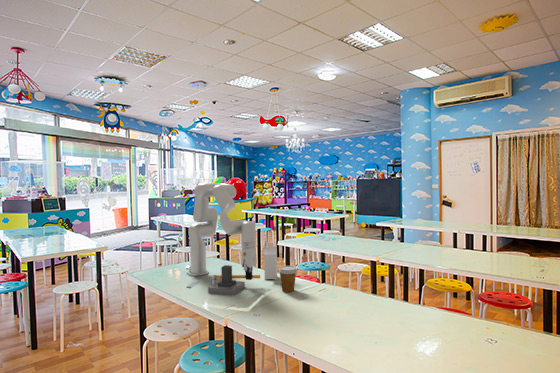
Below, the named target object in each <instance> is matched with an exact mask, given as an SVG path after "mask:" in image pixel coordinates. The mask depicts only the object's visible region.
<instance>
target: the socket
mask: <svg viewBox="0 0 560 373" xmlns="http://www.w3.org/2000/svg"><path fill="white" fill-rule="evenodd" d="M211 279H212V278H211ZM220 281H222V279H220V280H218V281H217V279H212V283H211V285H210V286H208V289H207V293H208V294H213V295H214V294H215V295H223V296H224V295H226V296H235V295H236V294H237V293H238V292H240V291H241V290H243V289H244V288H245V287H246V285H245V284H246V283H245V281H240V280H236V283H235V284H234V285H233V286H231V287H223V286H218V283H219V282H220Z"/></svg>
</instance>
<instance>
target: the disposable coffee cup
mask: <svg viewBox="0 0 560 373" xmlns="http://www.w3.org/2000/svg"><path fill="white" fill-rule="evenodd" d="M297 271H298V269H297V267H296V266H294V265H283V266H280V267H279V269H278V272H279V276H280V284H281V291H282V292H284V293H293V292H295V284H296V276H297V275H296V274H297Z"/></svg>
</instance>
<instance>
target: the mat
mask: <svg viewBox="0 0 560 373" xmlns="http://www.w3.org/2000/svg"><path fill="white" fill-rule="evenodd" d="M204 281H206V279H203V278H202V279H201V278H200V279H198V280H195V281H194V282H192V283H191V284H188V285H186V288H187V289H192V288H194V287H196V286H197V285H199V284H201V283H203V282H204Z"/></svg>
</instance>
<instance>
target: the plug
mask: <svg viewBox="0 0 560 373" xmlns="http://www.w3.org/2000/svg"><path fill="white" fill-rule="evenodd" d="M220 268H221V275H222V278H221V280H222V281H220V280H219V281H220V282H219V283H218V286H223V287H231V286H233V285H234V284H235V283H236V281H237V280H236V279H233V278H232V275H233V265H229V264H228V265H227V264H226V265H225V264H224V265H223V266H221V267H220Z"/></svg>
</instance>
